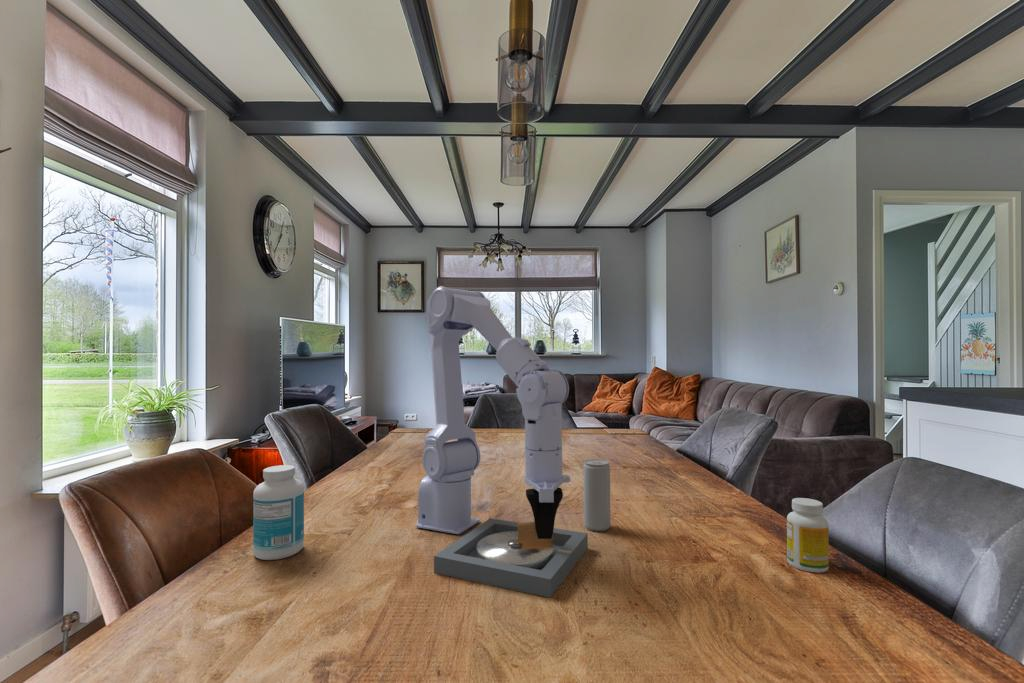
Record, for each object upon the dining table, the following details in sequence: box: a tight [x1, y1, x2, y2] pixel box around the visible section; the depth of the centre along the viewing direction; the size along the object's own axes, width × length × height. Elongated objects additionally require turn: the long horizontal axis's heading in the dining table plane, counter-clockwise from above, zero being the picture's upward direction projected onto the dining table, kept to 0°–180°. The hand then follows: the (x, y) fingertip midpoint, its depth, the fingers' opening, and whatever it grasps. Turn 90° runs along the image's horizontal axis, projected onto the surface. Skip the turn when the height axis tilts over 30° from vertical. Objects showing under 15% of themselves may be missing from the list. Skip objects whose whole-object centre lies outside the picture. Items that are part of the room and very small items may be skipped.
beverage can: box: [582, 458, 611, 532], centre depth 89 cm, size 5×5×12 cm
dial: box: [477, 520, 554, 569], centre depth 75 cm, size 12×12×5 cm
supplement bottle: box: [786, 497, 830, 574], centre depth 73 cm, size 5×5×10 cm
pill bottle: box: [252, 464, 305, 561], centre depth 78 cm, size 8×7×14 cm
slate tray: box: [433, 517, 589, 599], centre depth 75 cm, size 18×18×3 cm
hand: (544, 537), depth 74 cm, fingers closed, pressing on dial
